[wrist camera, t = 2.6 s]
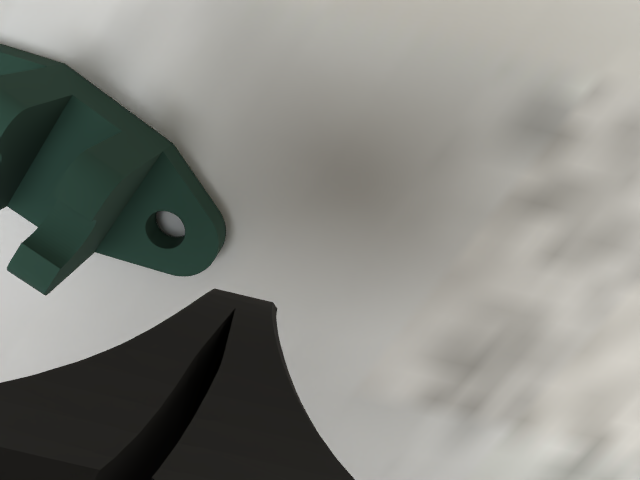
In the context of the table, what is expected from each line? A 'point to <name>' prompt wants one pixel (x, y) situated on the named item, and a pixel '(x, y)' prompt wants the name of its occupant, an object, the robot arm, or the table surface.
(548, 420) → the table surface
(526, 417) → the table surface
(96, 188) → the mount
